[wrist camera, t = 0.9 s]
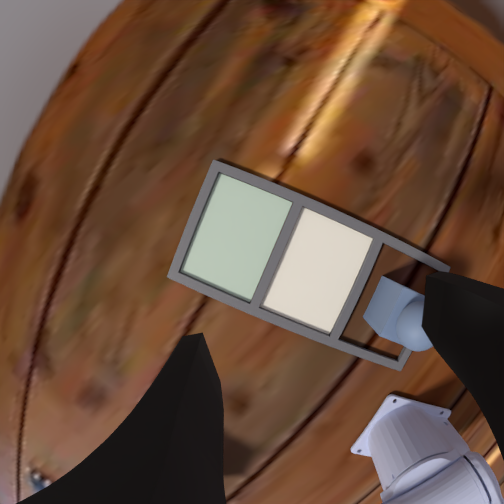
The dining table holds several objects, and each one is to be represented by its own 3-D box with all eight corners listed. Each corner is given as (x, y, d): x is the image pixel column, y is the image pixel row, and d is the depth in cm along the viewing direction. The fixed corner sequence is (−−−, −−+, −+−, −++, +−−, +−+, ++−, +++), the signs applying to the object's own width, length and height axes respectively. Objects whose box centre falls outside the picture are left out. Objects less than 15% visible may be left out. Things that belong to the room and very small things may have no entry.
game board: (448, 266, 25) (450, 267, 24) (398, 369, 26) (400, 371, 25) (214, 160, 26) (213, 159, 25) (168, 276, 27) (166, 277, 26)
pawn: (417, 291, 25) (463, 315, 17) (398, 331, 25) (436, 367, 17) (382, 275, 25) (421, 296, 17) (362, 317, 26) (394, 352, 18)
